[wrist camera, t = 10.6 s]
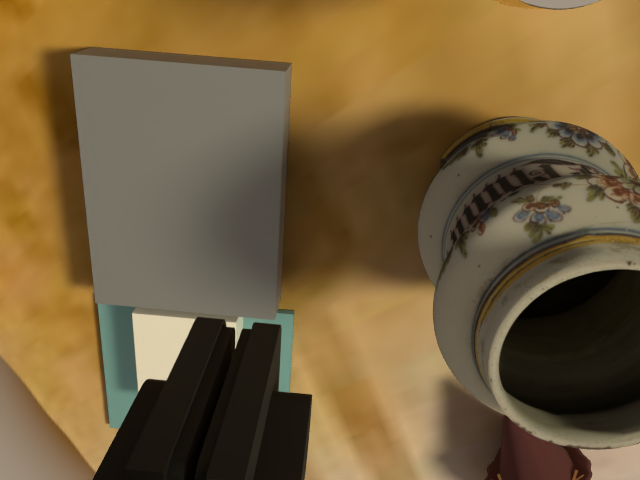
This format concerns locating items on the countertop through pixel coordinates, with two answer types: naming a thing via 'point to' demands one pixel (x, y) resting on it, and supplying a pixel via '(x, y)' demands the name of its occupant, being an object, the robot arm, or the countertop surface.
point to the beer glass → (547, 3)
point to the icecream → (535, 458)
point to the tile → (165, 339)
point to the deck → (184, 179)
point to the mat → (123, 361)
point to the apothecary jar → (539, 278)
